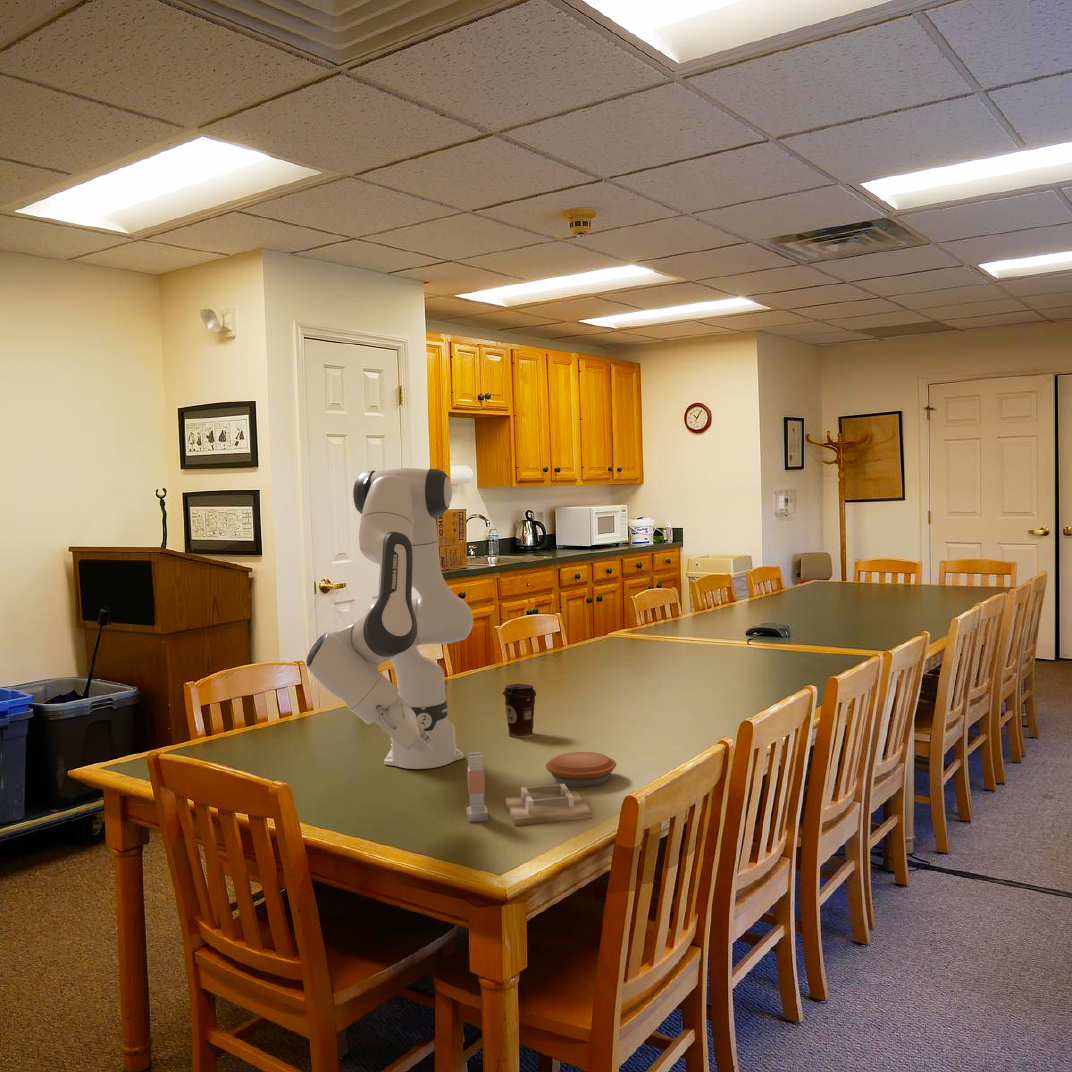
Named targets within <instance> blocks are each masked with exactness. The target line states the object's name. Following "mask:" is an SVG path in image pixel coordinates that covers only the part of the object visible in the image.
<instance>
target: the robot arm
mask: <svg viewBox="0 0 1072 1072" xmlns="http://www.w3.org/2000/svg"><path fill="white" fill-rule="evenodd" d="M450 481H451V480H450V478H449V475H448V474H447V473H446V472H445V471H444V470H441V469H436V468H431V467H430V468H429V469H426V468H425V469H424V468H414V467H410V468H409V467H402V468H397V469H396V468H393V469H385V470H377V471H376V470H369V471H364V472H362V473H360V474H359V476H358V477H356V478H355V480H354V484H353V489H352V490H353V491H352V498H353V503H354V508H355V510H356V511H357V512H358V513H359V514H361V518H360V524H359V531H358V542H359V543H358V544H359V545H358V546H359V550H360V551H361V553H362V555H363V556H364V557H365V558H366V559H367V560H369V561H371V562H372V563H375V564H377V565H379V576H378V577H379V578H378V593H377V598H376V599H377V600H376V602H375V603H372V604H371V605H370V606H369V607H368V609H367V610H366V612H365V614H364V616H363V617H362V618H360V619H358V621H356V622H354V623H353V624H350V625H349V626H346V627H344V628H341V629H338V630H336V631H331V632H325V633H323V634H321V636H320V637H319V638H318V639H317V640H316V642H315V643H314V644H313V646H312V647H311V649H310V650H309V652H308V654H307V657H306V667H307V670H308V671H309V672H310V673H311V675H312V676H313V677H314V678H315V679H316V681H318V683H319V684H320V685H322V686H323V687H324V688H325V689H326V690H327V691H328V692H329V693H330V694H332V695H333V696H336V697H337V698H338V699H341V701H343V702H344V703H345V705H346V707H347V708H348V709H349V710H350V711H351V712H352V713H354V714H355V715H356V716H357V717H358V718H359V719H361V720H362V721H363V722H364V723H365V724H366V725H371V724H373V723H376V724H377V726H380V728H381V729H382V730H383V731H384V732H385V733H386V734H387V735H389V738H390V741H391V744H390V750H389V752H388V754H387V755H386V756H385V758H384V761H383V762H384V763H383V764H384V765H386V766H394V767H397V768H398V767H399V768H403V769H407V770H408V769H412V770H420V769H421V770H423V769H433V768H438V767H442V766H443V767H444V766H447V765H449V764H451V763H453V762H455V761H458V760H462V759H464V753H463V752H462V751H461V750H460V749H458V747H457V745H456V731H455V725H454V724H453V722H452V721H450V720H449V718H448V714H449V713H448V710H449V708H448V701H447V700H446V696H445V695H446V694H445V693H446V691H445V688H446V687H445V686H446V685H445V672H444V669H443V667H442V666H441V665H440V664H439V663H438V662H436V661H434V660H433V659H430V658H428V657H426V656H423V655H422V654H421V653H420V652H419V650H418V647H417V646H420V645H421V646H422V645H423V646H425V645H447V644H452V643H456V642H460V641H464V640H466V639H467V638H468V637H469V635H470V634H471V632H472V629H473V626H474V615H473V612H472V609H471V607H470V606H469V604H468V602H466V601H465V600H464V599H463V598H460V597H459V596H458V595H457V594H456V593H454V591H453V590H452V589H451V588H450V586H449V585H448V584H447V582H446V579H445V578H444V575H443V572H442V567H441V563H440V562H441V561H440V551H439V550H440V549H439V537H438V536H439V535H438V525H437V520H436V519H438V518H439V516H441V515H443V514H445V513H446V511H448V510H449V508H450V506H451V505H450V504H451V501H452V498H453V487H452V483H451V482H450ZM413 589H414V590H415V591H416V592H417V593H418V594H419V597H417V598H413V597H412V591H413ZM389 660H390V661H391V664H392V666H393V669H394V672H395V678H396V685H395V684H393V683H392V682H391V680H389V679H388V678H387V677H386V676H385V675H383V674H382V673H381V672H380V671H379V667H380V666H381V665H383V664H384V663H385V662H388V661H389Z"/></svg>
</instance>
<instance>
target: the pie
mask: <svg viewBox="0 0 1072 1072" xmlns="http://www.w3.org/2000/svg"><path fill="white" fill-rule="evenodd" d="M616 766H617V763H616V760H614V759H612V758H611V757H608V756H607V755H605V754H604V753H599V752H593V751H591V752H590V751H573V752H567V753H562V754H558V755H556V756H554V757H552V758H551V759H550V760H549V761H547V762H546V764H545V769H546V770H547V772H550V774H551V775H552V777H553V779H554V780H555V782H556V783H557V784H565V785H566V787H567V788H568V787H569V788H591V787H597V786H600V785H603V784H604V783H606V782H607V781H608V779H609V777H610V775H611V773H612V772H613V771H614V770H615V768H616Z"/></svg>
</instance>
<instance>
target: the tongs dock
mask: <svg viewBox="0 0 1072 1072" xmlns="http://www.w3.org/2000/svg"><path fill="white" fill-rule="evenodd" d="M504 799H505V802H504V803H505V806H506V809H507V810H508V813H509V814H510V817H511V820H512V822H513V824H514V826H521V825H522V826H525V825H533V824H544V823H555V822H564V821H565V822H566V821H574V820H585V819H592V811H591V809H590V808H589V806H588V805H587V804H586V802H585V800H584V799H583V798H582V796H581V794H579V792H578V791H570V790H569V788H568V786H566V785H565V784H559V783H556V784H545V785H535V786H534V785H533V786H523V787H522V786H521V787H520V796H511V797H505V798H504Z"/></svg>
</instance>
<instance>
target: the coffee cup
mask: <svg viewBox="0 0 1072 1072" xmlns="http://www.w3.org/2000/svg"><path fill="white" fill-rule="evenodd" d="M502 695H503V696H504V698H505V701H504V707H505V714H506V722H507V726H508V735H509V736H510V737H513V738H522V739H523V738H530V737H532V736H534V732H533V730H534V719H535V718H534V715H535V704H536V696H537V691H536V690H535V689H534V686H533V685H530V684H524V683H512V684H507V685H506V686H505V688H504V690H503V692H502Z"/></svg>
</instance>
